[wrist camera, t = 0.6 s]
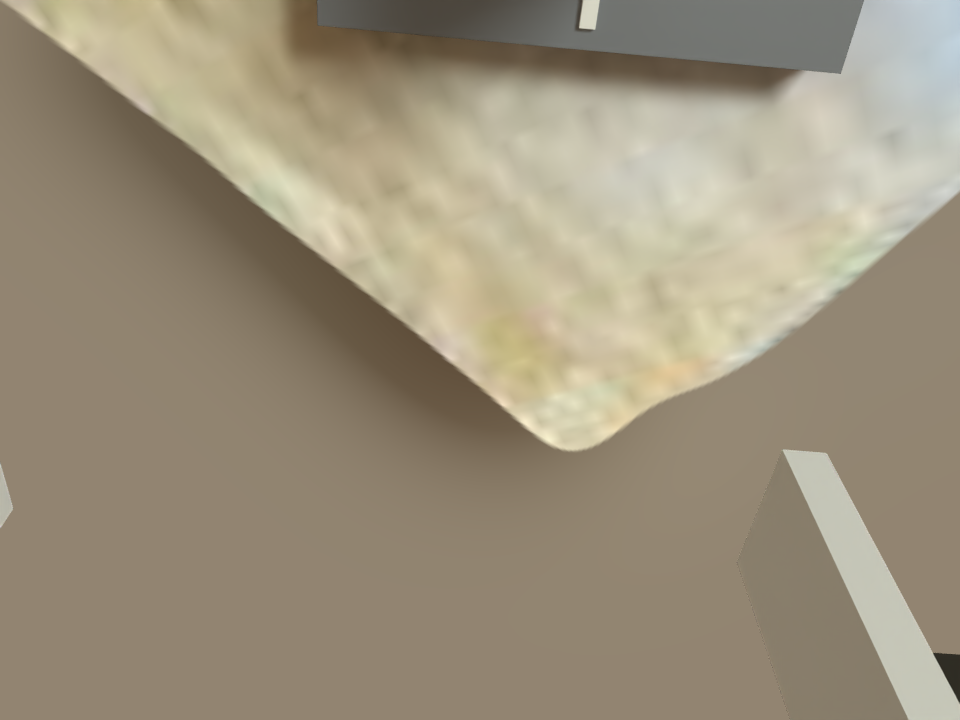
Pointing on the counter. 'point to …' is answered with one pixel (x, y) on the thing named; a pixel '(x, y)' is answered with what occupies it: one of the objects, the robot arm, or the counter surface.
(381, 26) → the dial plate
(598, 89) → the counter surface
